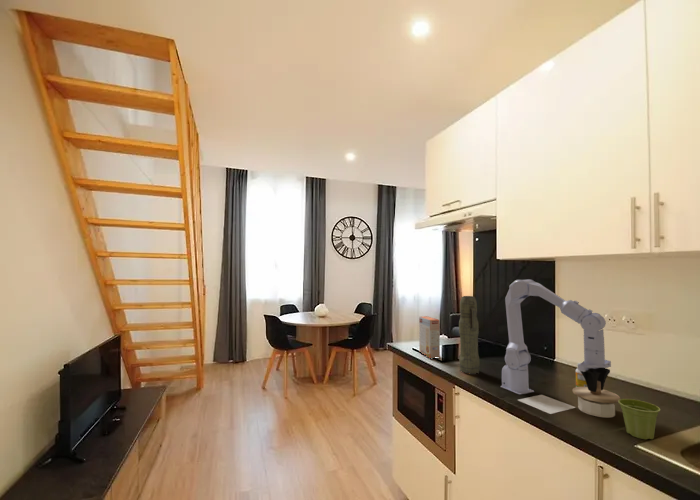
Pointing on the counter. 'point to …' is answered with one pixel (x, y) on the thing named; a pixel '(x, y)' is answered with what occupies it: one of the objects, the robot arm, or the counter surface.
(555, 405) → the mat
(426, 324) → the cracker box
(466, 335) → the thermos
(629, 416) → the plant pot
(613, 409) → the bowl
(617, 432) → the counter surface
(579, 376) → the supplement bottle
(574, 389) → the lid
